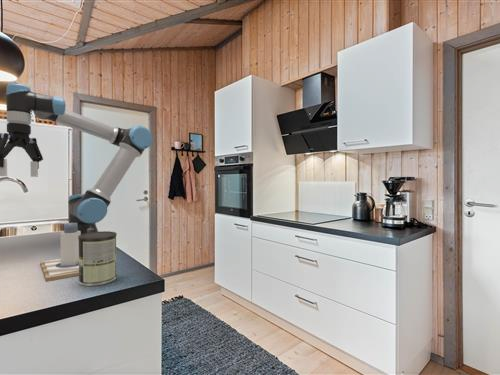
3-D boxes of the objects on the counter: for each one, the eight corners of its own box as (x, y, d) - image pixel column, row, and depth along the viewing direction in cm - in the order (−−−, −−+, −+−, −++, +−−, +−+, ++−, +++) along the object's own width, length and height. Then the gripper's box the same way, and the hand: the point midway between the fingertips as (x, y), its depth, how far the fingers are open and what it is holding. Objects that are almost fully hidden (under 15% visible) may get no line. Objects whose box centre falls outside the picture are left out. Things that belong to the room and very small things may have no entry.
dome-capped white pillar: (67, 261, 100) (66, 222, 99) (80, 261, 100) (80, 222, 100) (60, 265, 95) (60, 224, 95) (74, 265, 96) (74, 224, 96)
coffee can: (70, 283, 83) (69, 235, 83) (100, 272, 93) (100, 230, 92) (95, 288, 79) (95, 238, 79) (124, 276, 89) (124, 232, 89)
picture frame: (40, 264, 101) (40, 260, 101) (90, 256, 111) (90, 253, 111) (46, 281, 84) (46, 276, 84) (104, 270, 95) (104, 266, 95)
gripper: (37, 129, 126) (37, 176, 126) (-23, 117, 101) (-22, 175, 102) (52, 129, 125) (53, 176, 126) (-4, 116, 100) (-4, 176, 101)
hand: (19, 176), depth 114 cm, fingers open, 13 cm apart
